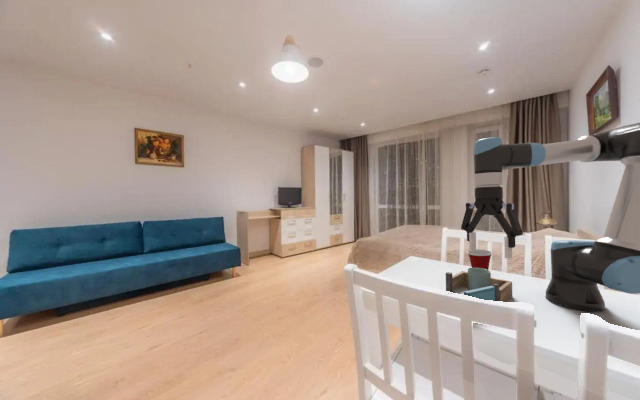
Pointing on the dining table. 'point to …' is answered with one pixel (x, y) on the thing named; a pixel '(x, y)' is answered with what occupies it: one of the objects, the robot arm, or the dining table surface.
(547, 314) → the dining table surface
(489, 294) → the blue flat rectangular panel
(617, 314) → the dining table surface
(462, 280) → the wooden u-shaped tray
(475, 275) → the cup
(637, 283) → the robot arm
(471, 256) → the plastic cup
